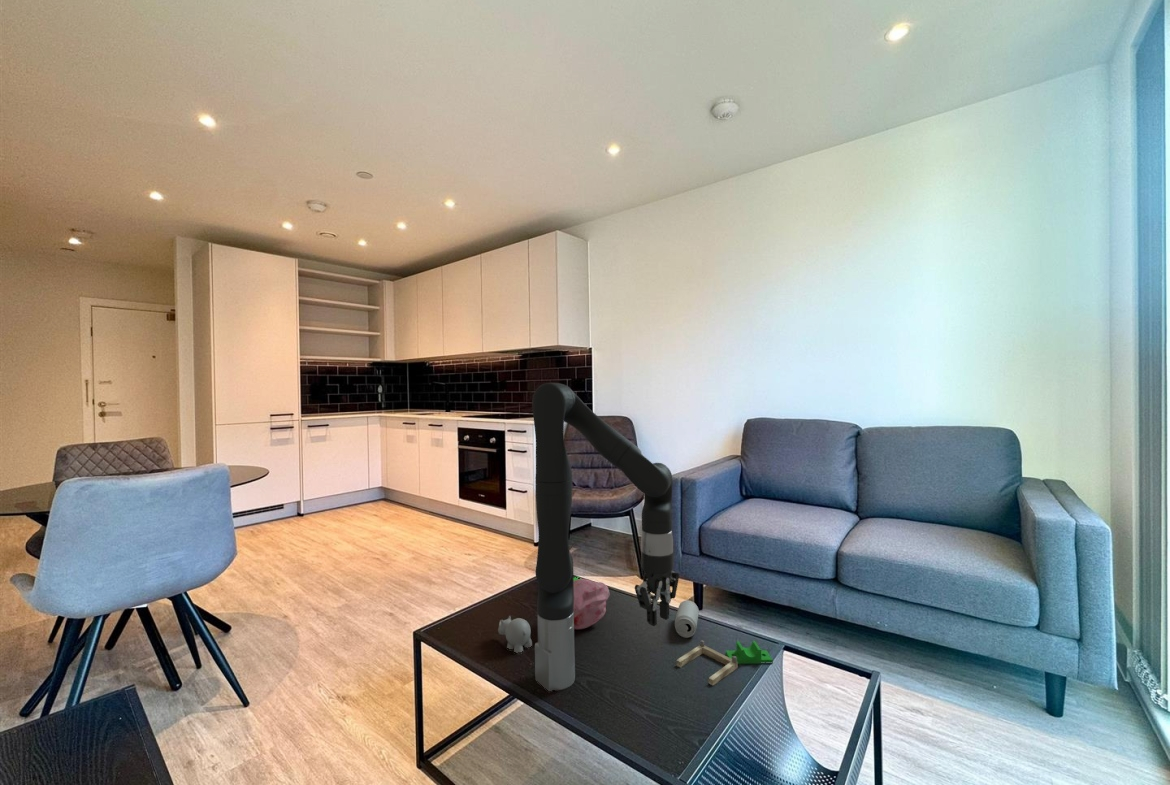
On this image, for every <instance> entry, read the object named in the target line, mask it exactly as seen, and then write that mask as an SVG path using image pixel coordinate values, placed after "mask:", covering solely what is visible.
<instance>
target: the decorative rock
mask: <svg viewBox="0 0 1170 785" xmlns="http://www.w3.org/2000/svg"><path fill="white" fill-rule="evenodd" d="M609 597H610V590H609V587H608V586H607V585H606V584H605V583H604V582H602V581H593V580H590V579H584V578H582V579H577V580H575V581H574V630H584V629H587V628H589V627H591V626H592V625H594V624H596V623H598V622H599V621H600V620H601V619H602V618H603V617H604V616H605V614H606V612H607V609H606V606H607V601H608V599H609Z"/></svg>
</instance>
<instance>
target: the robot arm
mask: <svg viewBox="0 0 1170 785" xmlns="http://www.w3.org/2000/svg"><path fill="white" fill-rule="evenodd" d="M531 407H532V416H533V424H534V434H535V481H534V482H535V507H536V519H537V527H538V542H537V543H538V545H537V555H536V556H537V557H536V565H535V577H536V581H537V585H538V587H537V600H536V601H537V602H536V608H537V610H536V612H537V642H535V643H534V666H535V667H534V668H535V669H534V670H535V671H534V672H535V679H534V680H536V681H538V682H539V683H540V684H541V685H542V686H543V687H544V688H543V687H542V686H541V685H540V684H539V683H538V682H537V683H538V684H539V685H540V686H541V687H542V688H543V689H545V688H546V689H547V690H548V691H551V692H553V691H552V690H555V691H562V690H565V689H568V688H569V687H570V686H572V685H573V684H574V682H575V680H576V666H575V665H576V661H575V654H576V652H575V629H574V580H573V578H574V558H573V555H572V553H571V552H570V542H569V531H570V530H569V528H570V521H571V513H572V504H573V473H572V472H573V471H572V466H571V463H570V458H569V455H568V452H567V448H566V446H565V445H566V444H565V438H564V431H565V429H564V427H565V426H564V425H565V423H567V424H568V425H570V426H571V427H573V428H574V429H576V430H577V431H579V433H580V434H581V435H582V436H583V437H585V439H586V440H587V441H588V443H589V444H590V445H591V446H592V447H593V448H594V449H595V450H596V452H597V453H598V454H599V455H601V456H602V458H604V459H605V460H607V461H608V462H609V463H610V464H611V465H613V466H614V467H615V468H617V469H618V470H619V471H621V472H622V473H623V474H624V475H625V477H626V478H627V479H628V480H629V481H630V482H631V483H632V484H633V485H634V486H635V488H637V489H638V490H639V491H640V492H641V493H643V494H644V497H643V498H644V500H643V502H644V503H643V506H642V508H641V535H640V552H641V555H640V556H641V557H640V558H641V559H640V564H641V569H642V571H643V574H644V575H643V579H642V581H643V582H642V583H640V584H635V585H634V591H635V594H636V598H637V602H638V604H639V607H640V608H642V609H644V610H646V622H647V623H648V624H649V626H652V627H656V626H657V623H658V619H657V618H658V617H657V605H658V601H659V617H660V618H661V619H664V620H666V621H667V620H668V619H670V618H669V616H670V604H671V601H672V599H675V598H676V595H677V590H678V585H679V580H680V573H679V572H677V571H674V568H675V567H674V537H673V529H672V528H673V525H672V519H673V518H672V498H673V497H672V496H673V475H672V471H671V470H670V468H669V467H668V466H667V465H665V464H664V463H661V462H652V461H650V459H648V458H647V457H646V456H644V455H643V453H642V451H641V449H640V448H639V447H638V446H637V445H636V444H634V443H633V442H631V441H630V440H629V439H628V438H627V437H625V436H623V434H621V433H620V432H619V431H618V430H616V429H615V428H613V427H612V426H611V425H610V424H608V423H606V421H604V420H603V419H602V418H601V417H599V416H598V415H597V414H596V413H595V412H594V411H592V409H590V408H589V406H587V405H586V404H585V403H584V402H583V400H582V399H581V398H580V397H579V396H578V395H577V394H576V393H575V392H574V391H573V390H572V388H571V387H570V386H568V385H566V384H564V383H560V382H546V383H542V384H541V385H539V386H538V387H537V388H536V389H535V391H534V393H533V395H532V402H531ZM536 681H535V682H536ZM546 689H545V690H546ZM547 690H546V691H547ZM548 691H547V692H548Z"/></svg>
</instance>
